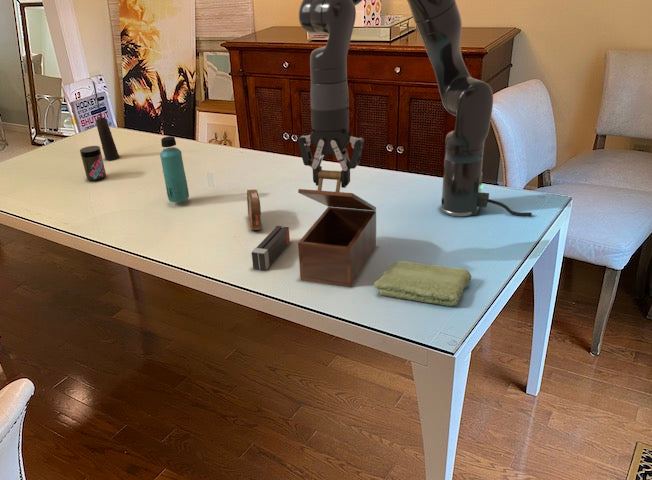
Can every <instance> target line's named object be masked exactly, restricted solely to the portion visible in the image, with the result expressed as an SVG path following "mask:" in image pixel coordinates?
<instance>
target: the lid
mask: <svg viewBox="0 0 652 480" xmlns="http://www.w3.org/2000/svg"><path fill="white" fill-rule="evenodd" d="M341 171H342V170H328V169H322V170H319V172H318V178H319V183H318V186H317V190H316V189H307V188H306V189H304V188H298V190H297V192H298V194H300V195H301V196H302V195H303V196H305V197H306V198H308V199H310V200H313V201H315V202H317V203H319V204H322V205H324V206H327V208H328V207H336V208H347V209H358V210H370V211H376V212H377V207H376V206H375V205H373V204H372V203H370V202H368V201H366V200H365V199H363V198H362V197H359V196H358V195H356V194H354V193H353V192H344V191H341ZM324 180H333V181H334V180H335V181H336V185H335V191H332V190H322V189H323V182H324Z"/></svg>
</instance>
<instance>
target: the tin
mask: <svg viewBox="0 0 652 480" xmlns="http://www.w3.org/2000/svg"><path fill="white" fill-rule="evenodd" d="M258 192H259V191H258V189H247V190H246V201H247V202H246V203H247V216H248V222H249V227H250V231H259V230H261V229H262V222H261V221H262V220H261V214H262V209H261V207H262V206H261V201H260V200H261V199H260V197H259V193H258Z"/></svg>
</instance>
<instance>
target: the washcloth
mask: <svg viewBox="0 0 652 480" xmlns="http://www.w3.org/2000/svg"><path fill="white" fill-rule="evenodd" d="M472 278H473V277H472V274H471V273H470V271H469V270H467V269H465V268H462V267H461V268H460V267H448V266H442V265H434V264H426V263H418V262H413V261H408V260H407V261H406V260H401V261H400V260H399V261H396V262H393V264H391V266H390V267H388V269H386V270H385V271H383V273H382V275H381V277H380V278H379V279H377V280H375V282H374V284H373V286H374V288H375V289H377V290H379V295H380V296H383V297H388V298H390V297H391V298H396V299H405V300H409V301H415V302H422V303H428V304H435V305H441V306H447V307H452V306H456V305H458V303H459V301H460V298H461V297H462V295H463V294H464V290H465V289H466V288H467V287H468V285H469V283H470V282H471V281H472Z"/></svg>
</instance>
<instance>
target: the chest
mask: <svg viewBox="0 0 652 480" xmlns="http://www.w3.org/2000/svg"><path fill="white" fill-rule="evenodd" d="M376 248H377V210H376V211H372V210H361V209H349V208H338V207H328V206H327V207H326V209H325V210H324V211H323V212H322V214H320V216H319V217H318V218H317V219H316V221H315V222H314V223H313V225H311V227H310V228H309V229H308V230H307V231H306V232H305V234H304V235H303V236H302V237H301V238H300V240H299V241H298V242H297V250H298V262H299V263H298V265H299V276H300V277H299V278H300V281H303V282H310V283H311V282H312V283H318V284H324V285H325V284H326V285H333V286H339V287H346V288H352V286H353V285H354V283H355V282H356V280H357V278H358V277H359V275H360V274H361V272H362V271H363V269H364V267H365V265H366V264H367V262H368V260H369V259H370V257H371V256H372V254H373V252H374V251H375V249H376Z"/></svg>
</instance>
